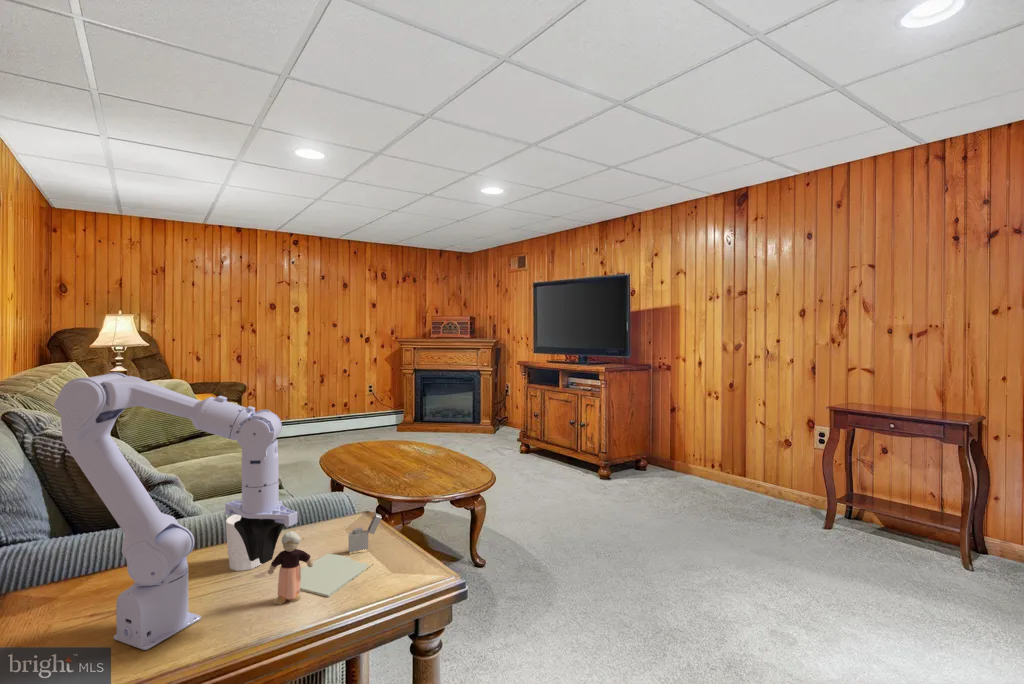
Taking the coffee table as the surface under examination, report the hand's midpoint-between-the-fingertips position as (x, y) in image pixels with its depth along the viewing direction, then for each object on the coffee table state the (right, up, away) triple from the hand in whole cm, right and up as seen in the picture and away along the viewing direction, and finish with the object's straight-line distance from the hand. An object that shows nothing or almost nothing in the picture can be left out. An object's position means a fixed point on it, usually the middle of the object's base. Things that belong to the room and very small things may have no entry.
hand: (261, 559), depth 88 cm
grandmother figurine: (+2, -10, +7) cm, 13 cm away
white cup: (-13, -10, +20) cm, 26 cm away
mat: (+6, -10, +16) cm, 20 cm away
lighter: (+10, -10, +27) cm, 31 cm away
